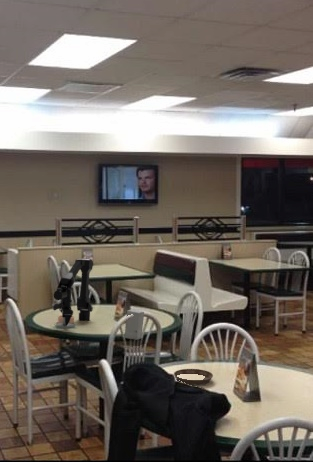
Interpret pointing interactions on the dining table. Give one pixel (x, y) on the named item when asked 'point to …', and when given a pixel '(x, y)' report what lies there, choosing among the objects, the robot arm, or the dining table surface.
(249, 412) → the dining table surface
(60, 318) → the bowl
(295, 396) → the dining table surface
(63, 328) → the mat
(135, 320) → the skincare box
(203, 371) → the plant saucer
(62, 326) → the lid
